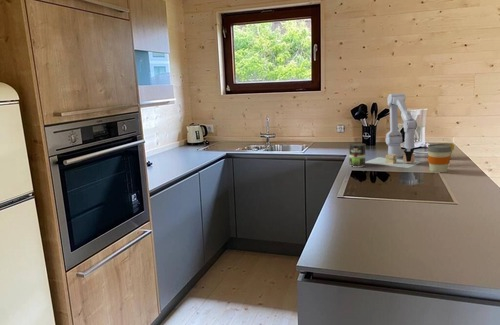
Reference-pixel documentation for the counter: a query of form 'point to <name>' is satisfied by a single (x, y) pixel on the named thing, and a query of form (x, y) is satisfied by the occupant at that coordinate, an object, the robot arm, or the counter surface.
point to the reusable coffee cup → (439, 157)
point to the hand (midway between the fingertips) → (408, 160)
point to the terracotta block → (411, 158)
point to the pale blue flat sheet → (398, 164)
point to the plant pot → (450, 145)
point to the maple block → (391, 158)
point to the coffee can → (357, 154)
